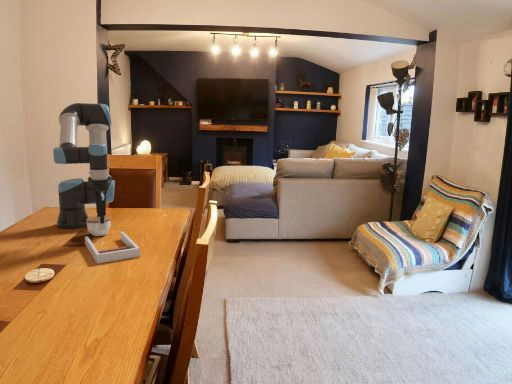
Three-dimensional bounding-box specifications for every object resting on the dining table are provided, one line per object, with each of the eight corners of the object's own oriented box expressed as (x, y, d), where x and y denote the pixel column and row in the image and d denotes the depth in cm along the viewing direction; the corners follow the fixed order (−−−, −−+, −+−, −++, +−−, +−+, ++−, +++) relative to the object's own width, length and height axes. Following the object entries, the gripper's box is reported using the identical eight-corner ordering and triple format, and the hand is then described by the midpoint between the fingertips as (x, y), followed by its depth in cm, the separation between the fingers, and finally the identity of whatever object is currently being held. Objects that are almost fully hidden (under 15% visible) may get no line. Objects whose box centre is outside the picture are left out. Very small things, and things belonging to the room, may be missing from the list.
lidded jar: (103, 237, 179) (101, 217, 177) (82, 236, 181) (80, 216, 180) (116, 232, 189) (114, 213, 188) (96, 231, 191) (94, 212, 190)
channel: (85, 244, 171) (84, 236, 171) (123, 238, 180) (123, 231, 180) (97, 263, 150) (96, 255, 149) (140, 256, 159) (139, 248, 158)
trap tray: (96, 254, 159) (95, 251, 159) (129, 249, 166) (129, 246, 166) (100, 261, 152) (100, 257, 152) (134, 255, 160) (134, 251, 159)
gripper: (87, 177, 178) (90, 227, 182) (93, 181, 167) (96, 234, 171) (104, 176, 182) (107, 225, 186) (111, 179, 171) (113, 232, 175)
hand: (102, 229), depth 178 cm, fingers closed
